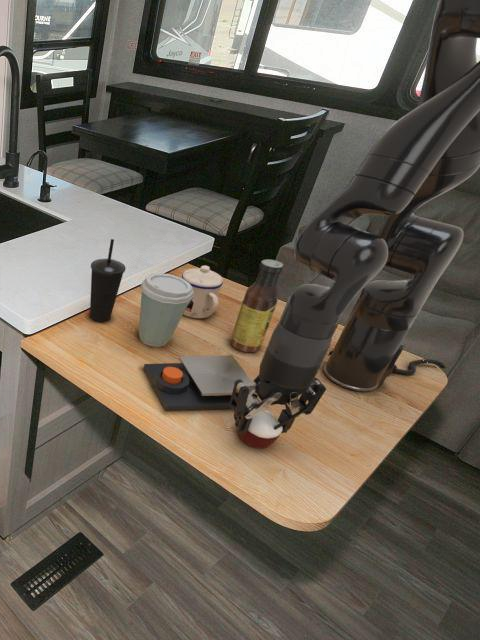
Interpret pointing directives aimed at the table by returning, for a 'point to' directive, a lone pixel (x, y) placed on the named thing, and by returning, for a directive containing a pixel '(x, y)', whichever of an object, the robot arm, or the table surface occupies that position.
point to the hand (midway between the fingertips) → (260, 429)
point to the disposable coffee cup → (162, 307)
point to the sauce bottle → (257, 308)
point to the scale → (182, 391)
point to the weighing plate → (214, 373)
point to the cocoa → (265, 428)
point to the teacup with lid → (202, 291)
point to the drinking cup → (105, 286)
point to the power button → (172, 375)
